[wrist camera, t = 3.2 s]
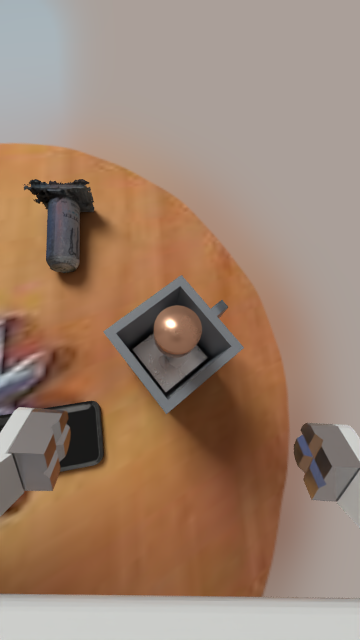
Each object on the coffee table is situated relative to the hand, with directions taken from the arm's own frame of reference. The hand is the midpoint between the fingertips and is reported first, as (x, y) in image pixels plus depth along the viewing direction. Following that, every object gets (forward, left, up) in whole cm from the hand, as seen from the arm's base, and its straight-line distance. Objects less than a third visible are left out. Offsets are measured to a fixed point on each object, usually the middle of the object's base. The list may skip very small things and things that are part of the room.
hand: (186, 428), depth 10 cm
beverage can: (-29, +4, -30) cm, 41 cm away
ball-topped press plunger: (-4, +4, -24) cm, 24 cm away
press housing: (-4, +5, -29) cm, 30 cm away
